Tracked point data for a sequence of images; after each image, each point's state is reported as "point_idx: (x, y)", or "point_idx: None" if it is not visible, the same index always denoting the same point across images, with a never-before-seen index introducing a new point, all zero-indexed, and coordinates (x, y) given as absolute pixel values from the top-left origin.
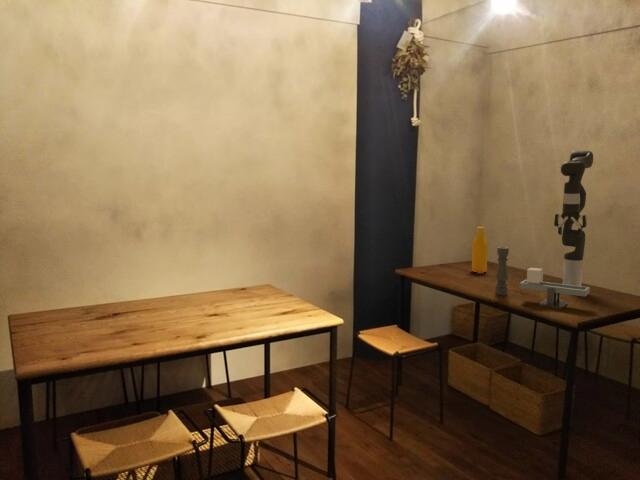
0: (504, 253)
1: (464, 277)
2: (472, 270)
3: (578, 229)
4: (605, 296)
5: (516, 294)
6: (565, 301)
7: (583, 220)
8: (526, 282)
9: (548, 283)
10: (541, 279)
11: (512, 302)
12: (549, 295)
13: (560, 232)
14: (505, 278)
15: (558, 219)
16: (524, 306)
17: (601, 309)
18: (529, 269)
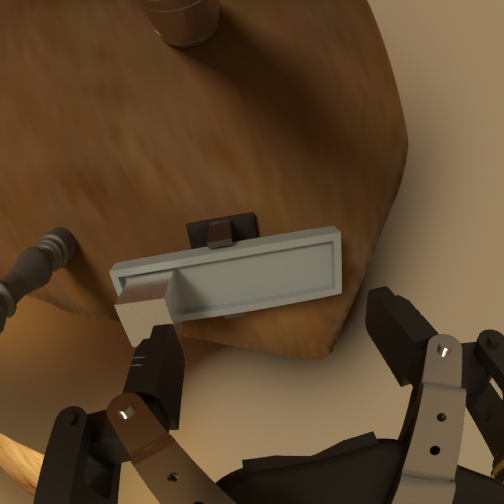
0: (2, 330)
1: None
2: None
3: (401, 379)
4: (307, 32)
5: (88, 216)
6: (249, 219)
7: (499, 446)
8: (121, 277)
9: (194, 263)
10: (176, 293)
11: None
12: None
13: (180, 381)
14: (51, 274)
15: (76, 498)
16: None
17: (349, 205)
18: (137, 342)
